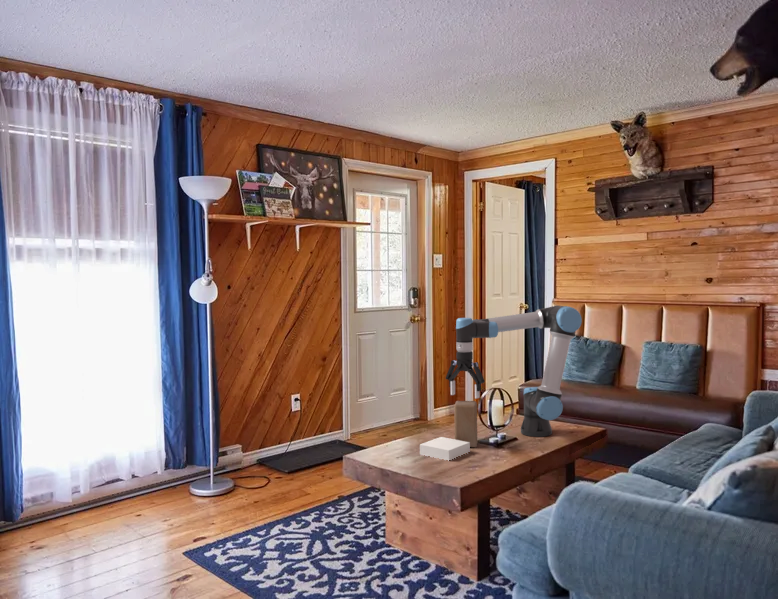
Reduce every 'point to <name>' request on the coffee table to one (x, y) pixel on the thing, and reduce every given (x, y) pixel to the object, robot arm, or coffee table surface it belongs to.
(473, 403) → the block
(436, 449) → the base block
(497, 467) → the coffee table surface
